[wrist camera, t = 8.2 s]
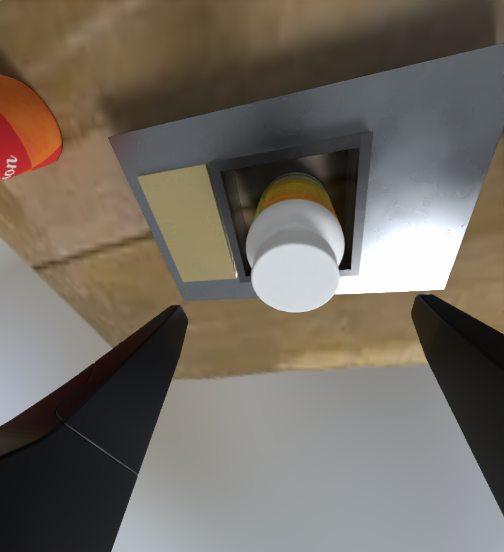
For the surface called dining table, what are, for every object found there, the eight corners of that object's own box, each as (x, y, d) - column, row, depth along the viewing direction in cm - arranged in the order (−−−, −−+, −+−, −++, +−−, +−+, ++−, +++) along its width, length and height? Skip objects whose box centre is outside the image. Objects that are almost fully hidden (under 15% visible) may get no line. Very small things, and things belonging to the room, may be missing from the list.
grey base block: (496, 47, 12) (554, 29, 9) (428, 270, 20) (449, 296, 17) (130, 133, 17) (99, 138, 14) (192, 285, 24) (180, 306, 22)
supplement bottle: (258, 171, 17) (229, 224, 9) (334, 170, 16) (373, 227, 8) (259, 237, 20) (239, 319, 12) (323, 239, 19) (343, 327, 12)
